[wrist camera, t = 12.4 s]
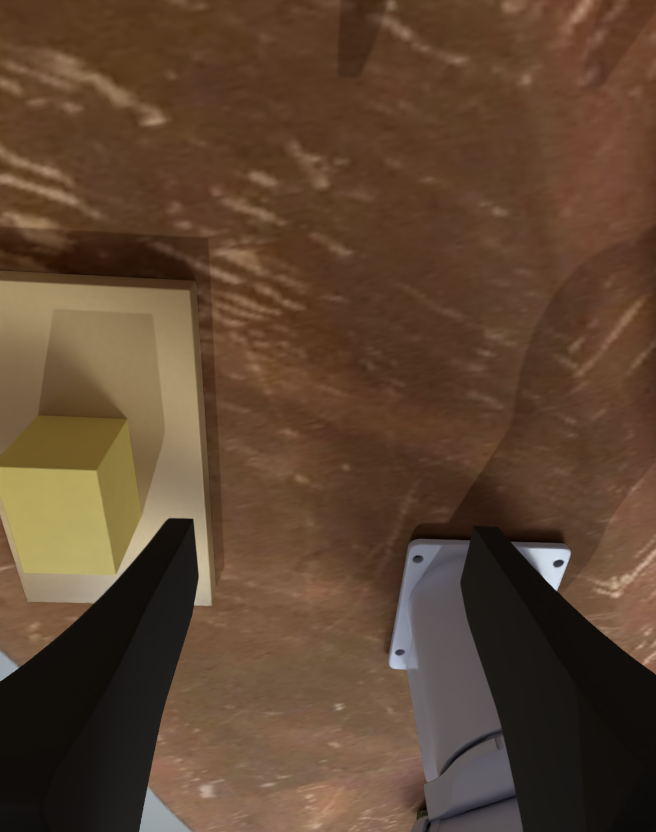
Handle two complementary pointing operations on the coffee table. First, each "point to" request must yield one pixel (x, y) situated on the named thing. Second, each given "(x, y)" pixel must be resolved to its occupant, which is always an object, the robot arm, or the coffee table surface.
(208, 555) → the board
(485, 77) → the coffee table surface
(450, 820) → the robot arm
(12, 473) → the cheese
